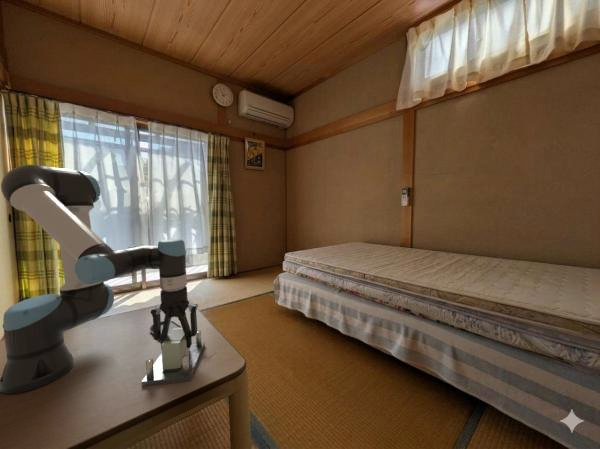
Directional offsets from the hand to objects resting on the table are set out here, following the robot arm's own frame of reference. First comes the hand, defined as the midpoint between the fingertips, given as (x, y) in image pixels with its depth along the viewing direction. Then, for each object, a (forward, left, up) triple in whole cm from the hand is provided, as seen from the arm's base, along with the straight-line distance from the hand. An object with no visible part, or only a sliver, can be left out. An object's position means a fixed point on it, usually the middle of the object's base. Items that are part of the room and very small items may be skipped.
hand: (177, 357), depth 77 cm
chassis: (0, 0, -2) cm, 2 cm away
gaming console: (-11, +21, -3) cm, 24 cm away
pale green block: (0, 0, 0) cm, 0 cm away
